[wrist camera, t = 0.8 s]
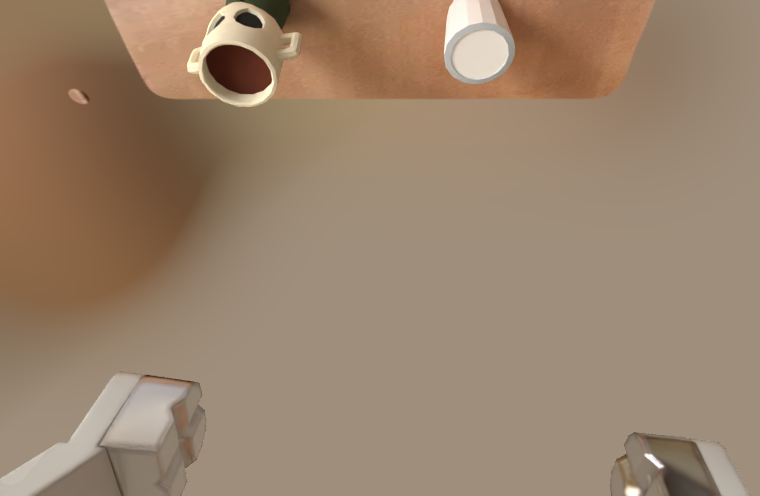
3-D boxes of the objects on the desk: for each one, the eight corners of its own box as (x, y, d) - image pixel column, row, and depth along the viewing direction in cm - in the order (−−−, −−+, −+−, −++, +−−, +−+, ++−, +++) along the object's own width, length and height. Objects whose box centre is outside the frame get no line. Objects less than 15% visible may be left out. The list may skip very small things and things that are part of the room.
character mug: (300, -48, 52) (282, 30, 44) (321, 20, 57) (308, 99, 50) (195, -28, 53) (161, 50, 46) (225, 35, 59) (198, 115, 52)
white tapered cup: (514, 30, 58) (523, 70, 54) (453, 53, 60) (457, 94, 56) (497, -28, 53) (505, 11, 49) (431, 0, 55) (433, 39, 51)
